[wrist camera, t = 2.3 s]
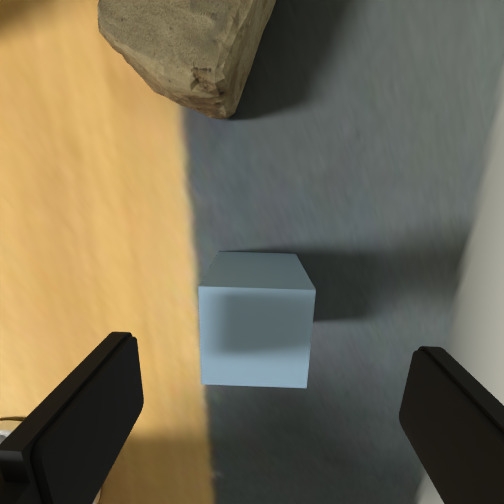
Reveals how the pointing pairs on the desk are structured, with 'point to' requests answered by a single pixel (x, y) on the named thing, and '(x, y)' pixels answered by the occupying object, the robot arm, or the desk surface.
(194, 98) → the stone block
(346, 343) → the desk surface
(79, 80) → the desk surface
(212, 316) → the slate cube
